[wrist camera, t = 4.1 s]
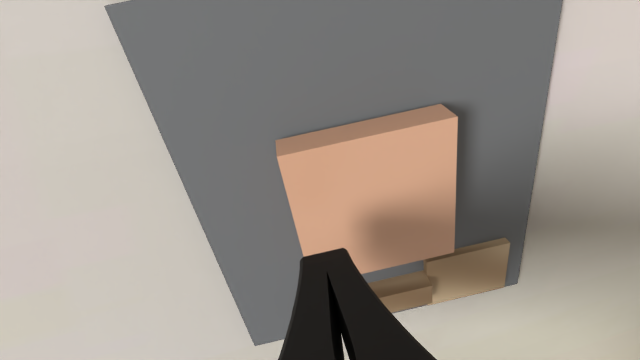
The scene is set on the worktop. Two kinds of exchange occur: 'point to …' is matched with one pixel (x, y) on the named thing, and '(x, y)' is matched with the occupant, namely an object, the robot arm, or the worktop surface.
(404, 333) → the robot arm
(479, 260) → the tan stepped block
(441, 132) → the tile
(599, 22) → the worktop surface
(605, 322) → the worktop surface
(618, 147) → the worktop surface
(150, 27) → the mat
